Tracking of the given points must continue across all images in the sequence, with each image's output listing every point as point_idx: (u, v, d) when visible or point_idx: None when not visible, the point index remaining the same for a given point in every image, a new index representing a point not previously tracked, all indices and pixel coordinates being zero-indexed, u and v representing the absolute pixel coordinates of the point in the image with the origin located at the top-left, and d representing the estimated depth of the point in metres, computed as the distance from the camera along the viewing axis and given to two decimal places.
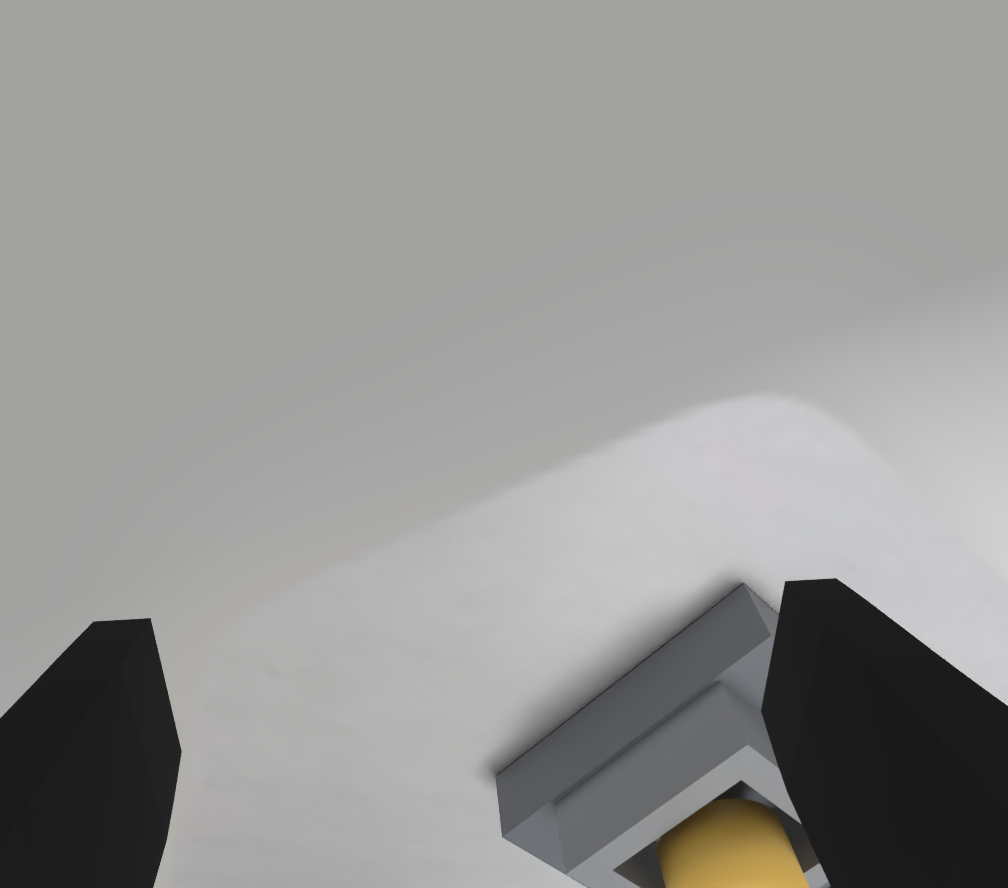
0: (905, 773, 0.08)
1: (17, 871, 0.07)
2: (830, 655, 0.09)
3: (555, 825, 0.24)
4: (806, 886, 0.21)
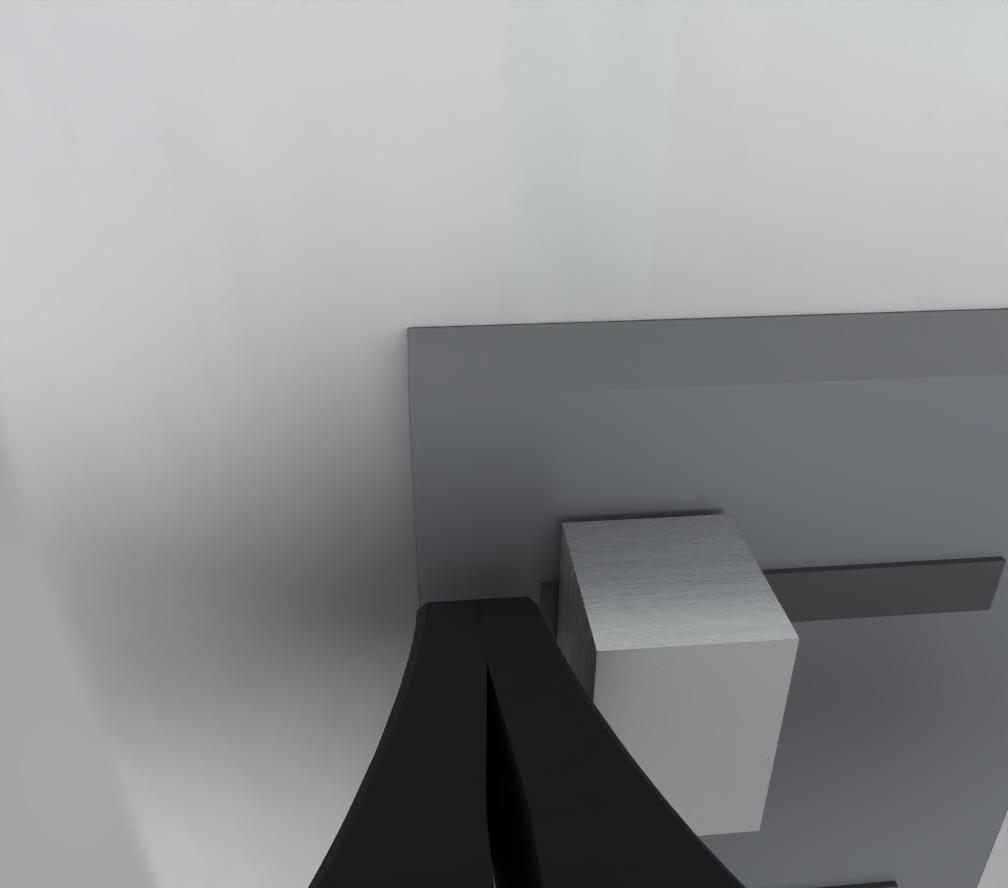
0: (512, 804, 0.08)
1: None
2: None
3: None
4: None
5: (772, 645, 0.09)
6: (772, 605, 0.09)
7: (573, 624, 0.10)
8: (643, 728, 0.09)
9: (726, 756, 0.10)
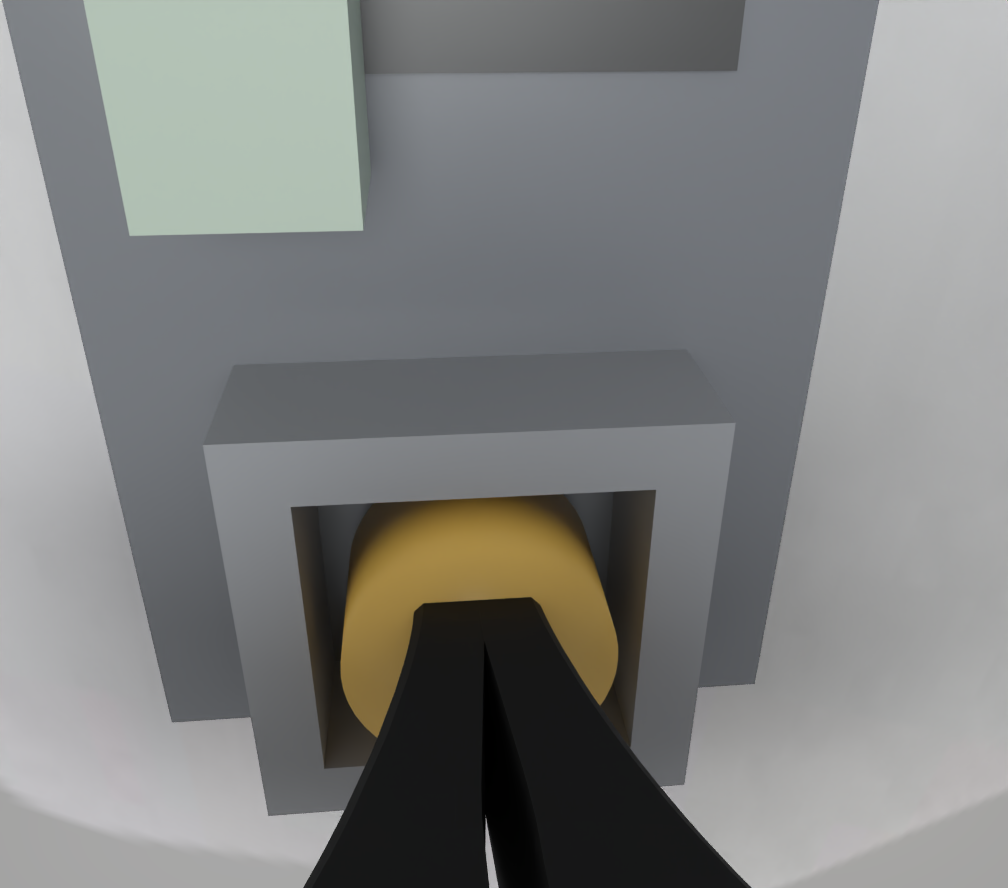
0: (516, 803, 0.08)
1: None
2: (488, 678, 0.09)
3: None
4: (342, 658, 0.10)
5: None
6: None
7: None
8: None
9: None
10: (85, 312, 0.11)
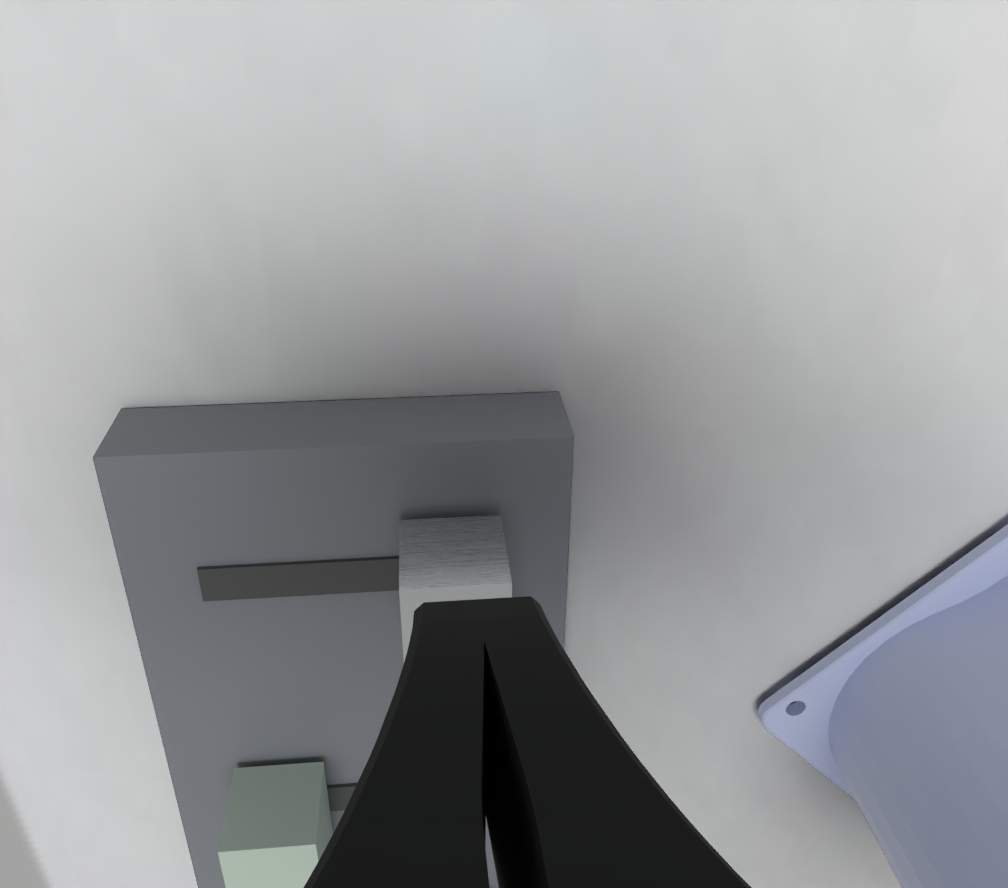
0: (516, 803, 0.08)
1: None
2: (488, 678, 0.09)
3: None
4: None
5: (498, 587, 0.16)
6: (503, 566, 0.17)
7: None
8: None
9: None
10: None
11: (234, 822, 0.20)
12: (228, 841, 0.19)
